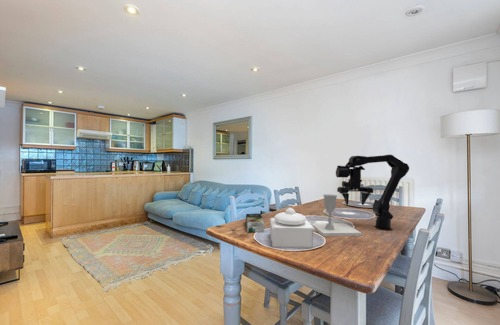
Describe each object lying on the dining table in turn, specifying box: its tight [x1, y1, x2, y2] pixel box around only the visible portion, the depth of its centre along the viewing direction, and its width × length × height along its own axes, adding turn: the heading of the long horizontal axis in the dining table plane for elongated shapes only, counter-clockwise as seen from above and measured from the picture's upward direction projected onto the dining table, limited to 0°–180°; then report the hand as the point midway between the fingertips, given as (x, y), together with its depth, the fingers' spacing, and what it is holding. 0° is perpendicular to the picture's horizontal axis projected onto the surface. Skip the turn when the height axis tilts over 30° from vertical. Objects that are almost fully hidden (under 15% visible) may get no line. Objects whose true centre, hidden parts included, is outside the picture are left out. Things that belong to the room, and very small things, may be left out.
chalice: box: [322, 193, 338, 230], centre depth 124 cm, size 7×7×18 cm
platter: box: [310, 222, 362, 237], centre depth 126 cm, size 20×18×2 cm
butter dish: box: [269, 207, 315, 249], centre depth 109 cm, size 18×18×16 cm
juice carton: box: [245, 213, 266, 233], centre depth 130 cm, size 20×10×6 cm, turn 4°
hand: (354, 205), depth 132 cm, fingers open, 9 cm apart
